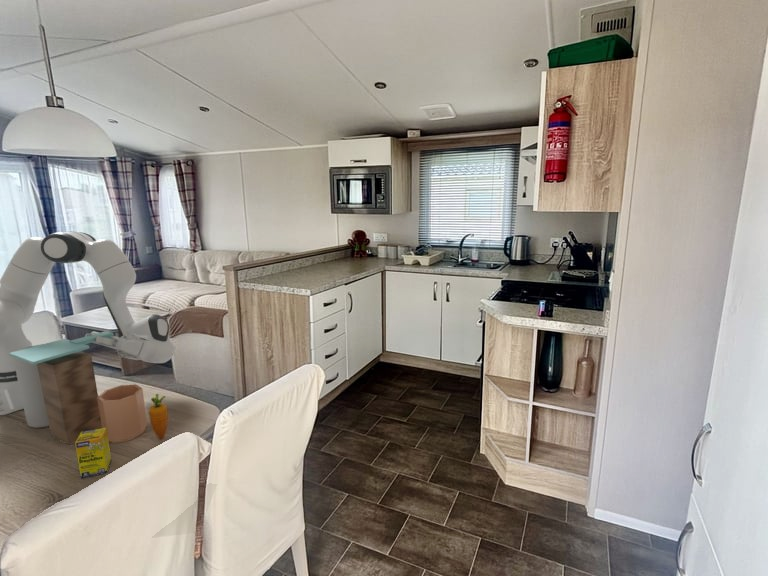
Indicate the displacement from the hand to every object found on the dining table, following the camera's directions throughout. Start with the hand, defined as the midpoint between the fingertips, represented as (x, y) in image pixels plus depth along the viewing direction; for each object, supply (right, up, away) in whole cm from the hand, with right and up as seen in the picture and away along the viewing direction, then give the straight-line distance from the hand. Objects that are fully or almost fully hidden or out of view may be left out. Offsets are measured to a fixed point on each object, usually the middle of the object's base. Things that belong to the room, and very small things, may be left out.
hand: (91, 337), depth 128 cm
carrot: (+25, -32, -4) cm, 41 cm away
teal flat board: (-3, -2, -5) cm, 6 cm away
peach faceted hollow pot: (+12, -31, -1) cm, 33 cm away
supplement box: (+15, -35, -18) cm, 42 cm away
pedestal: (-4, -31, -1) cm, 31 cm away
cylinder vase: (-19, -29, +7) cm, 35 cm away
